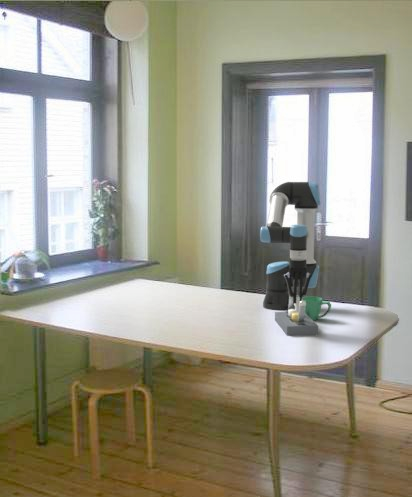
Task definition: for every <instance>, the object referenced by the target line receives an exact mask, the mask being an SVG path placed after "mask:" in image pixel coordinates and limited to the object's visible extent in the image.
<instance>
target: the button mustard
mask: <svg viewBox="0 0 412 497" xmlns="http://www.w3.org/2000/svg"><path fill="white" fill-rule="evenodd" d="M298 314H299V313H292V322H298Z"/></svg>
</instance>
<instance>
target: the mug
mask: <svg viewBox="0 0 412 497" xmlns="http://www.w3.org/2000/svg"><path fill="white" fill-rule="evenodd" d="M302 300H304V301H305V302H306V306H305V313H306V314H307V315H308V316H309V317H310V318H311V319H312V320H313V321H316V320H318V319H321V318H324V317H325V316H327V315H328V314H329V313H330V312H331V309H332V308H331V307H332V303H331V302H330V301H327V300H325V301H323V298H322V297H320V296H319V297H318V296H302ZM322 305H327V306H328V307H327V310H326V311H325V312H324V314H321V315H320V313H321V309H322Z"/></svg>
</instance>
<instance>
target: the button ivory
mask: <svg viewBox="0 0 412 497" xmlns="http://www.w3.org/2000/svg"><path fill="white" fill-rule="evenodd" d="M287 311H288V318H292V313H299V311H296V310H295V308H294V309H289V310H288V309H287Z"/></svg>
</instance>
